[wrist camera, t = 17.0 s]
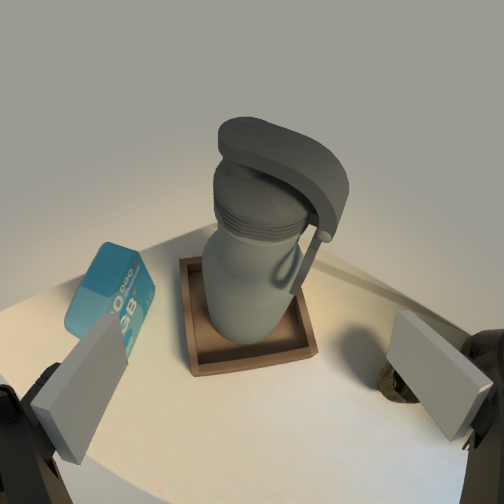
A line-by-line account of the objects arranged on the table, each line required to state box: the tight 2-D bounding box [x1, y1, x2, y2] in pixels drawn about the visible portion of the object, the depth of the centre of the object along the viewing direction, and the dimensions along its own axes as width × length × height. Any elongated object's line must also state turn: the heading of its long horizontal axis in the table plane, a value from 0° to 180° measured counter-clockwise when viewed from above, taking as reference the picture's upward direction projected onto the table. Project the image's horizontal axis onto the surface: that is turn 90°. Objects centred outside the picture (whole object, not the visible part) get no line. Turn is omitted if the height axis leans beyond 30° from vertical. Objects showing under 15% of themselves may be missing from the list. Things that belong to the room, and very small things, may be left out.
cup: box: [379, 362, 420, 404], centre depth 33 cm, size 7×7×8 cm
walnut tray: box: [179, 256, 318, 377], centre depth 39 cm, size 16×16×4 cm
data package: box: [64, 242, 155, 358], centre depth 33 cm, size 12×4×12 cm, turn 164°
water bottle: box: [202, 117, 349, 344], centre depth 28 cm, size 10×10×28 cm
